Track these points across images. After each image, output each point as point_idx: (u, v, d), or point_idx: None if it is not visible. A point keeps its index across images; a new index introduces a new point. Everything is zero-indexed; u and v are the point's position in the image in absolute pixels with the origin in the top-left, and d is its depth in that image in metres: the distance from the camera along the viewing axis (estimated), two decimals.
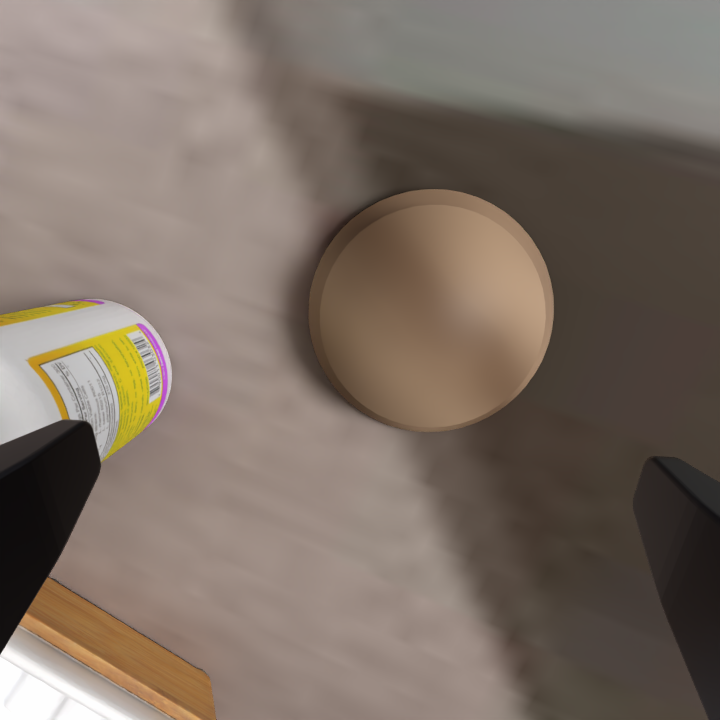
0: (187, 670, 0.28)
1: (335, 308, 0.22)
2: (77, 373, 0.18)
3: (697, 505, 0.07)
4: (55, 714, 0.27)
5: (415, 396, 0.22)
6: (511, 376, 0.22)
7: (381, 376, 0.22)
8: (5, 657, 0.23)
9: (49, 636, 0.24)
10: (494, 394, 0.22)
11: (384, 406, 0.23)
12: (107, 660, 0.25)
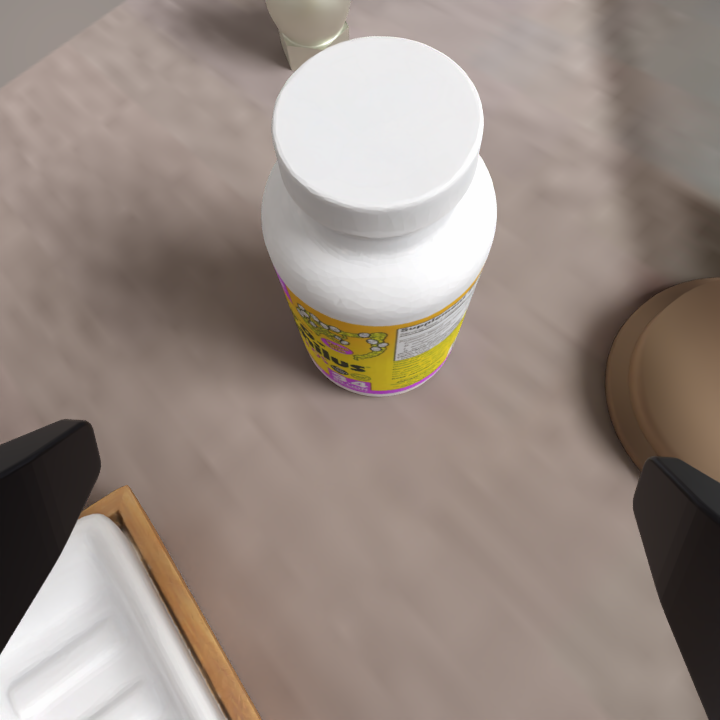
0: None
1: (666, 338, 0.21)
2: None
3: (697, 505, 0.07)
4: None
5: None
6: None
7: (699, 421, 0.20)
8: (119, 566, 0.17)
9: (166, 578, 0.18)
10: None
11: (696, 454, 0.20)
12: (218, 646, 0.17)
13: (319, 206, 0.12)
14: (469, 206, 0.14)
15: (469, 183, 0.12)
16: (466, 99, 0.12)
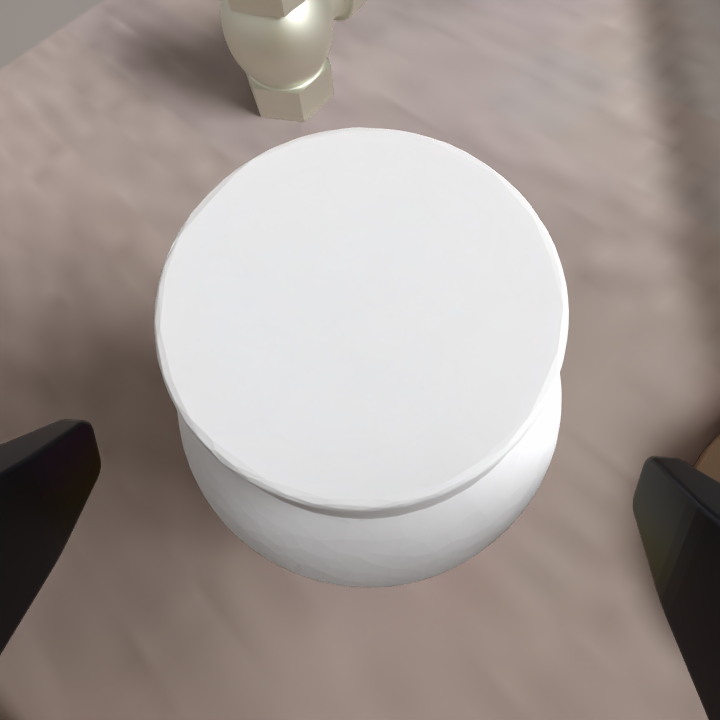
0: None
1: None
2: None
3: (697, 505, 0.07)
4: None
5: None
6: None
7: None
8: None
9: None
10: None
11: None
12: None
13: None
14: None
15: None
16: (533, 260, 0.06)
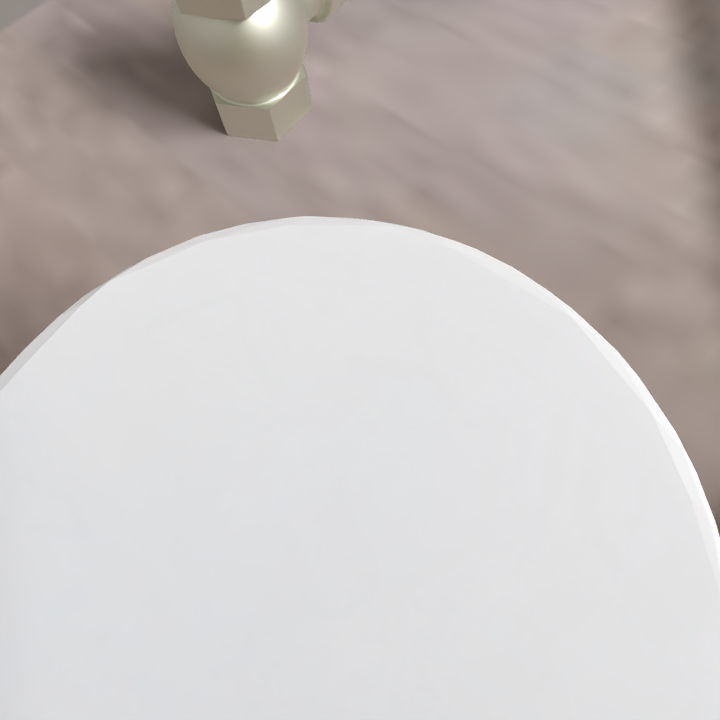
0: None
1: None
2: None
3: None
4: None
5: None
6: None
7: None
8: None
9: None
10: None
11: None
12: None
13: None
14: None
15: None
16: (660, 512, 0.03)
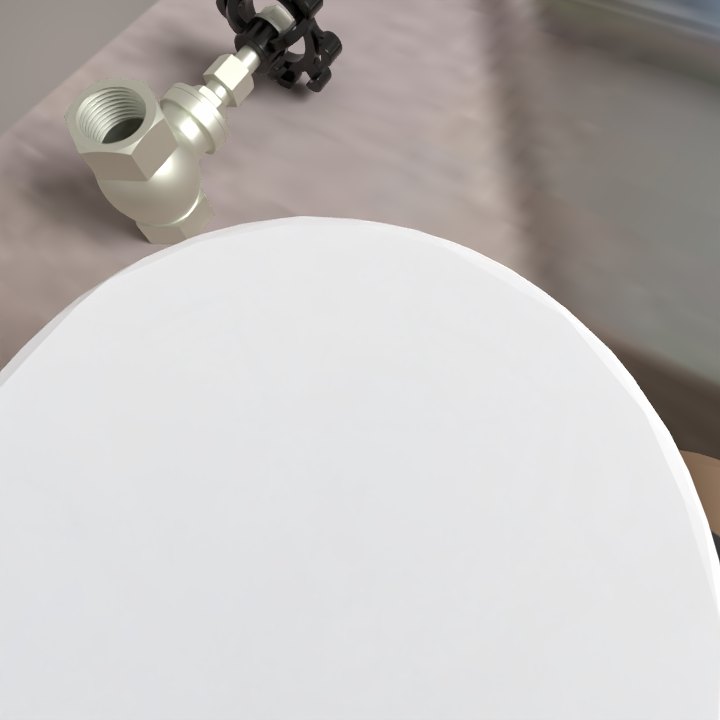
0: None
1: None
2: None
3: None
4: None
5: None
6: None
7: None
8: None
9: None
10: None
11: None
12: None
13: None
14: None
15: None
16: (652, 510, 0.03)
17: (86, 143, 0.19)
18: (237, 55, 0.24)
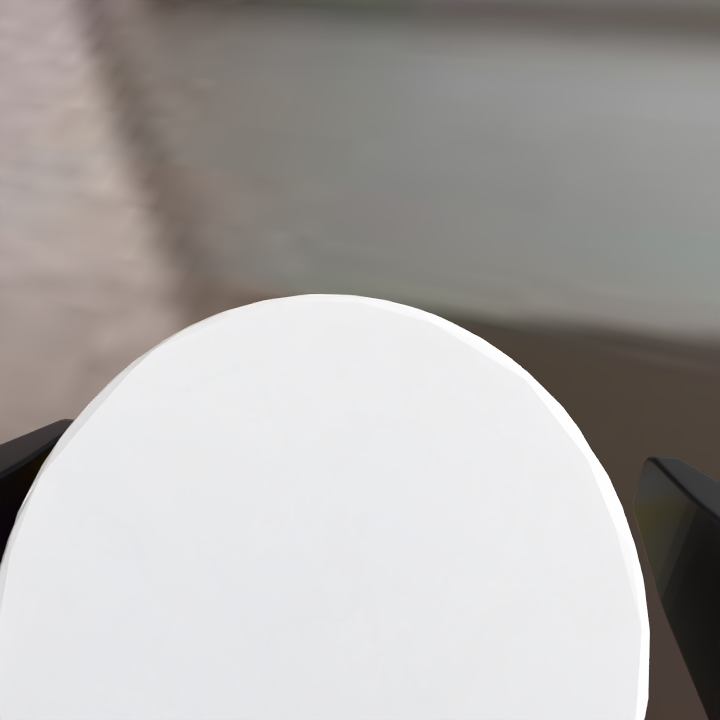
0: None
1: None
2: None
3: (697, 505, 0.07)
4: None
5: None
6: None
7: None
8: None
9: None
10: None
11: None
12: None
13: None
14: None
15: None
16: (591, 537, 0.04)
17: None
18: None
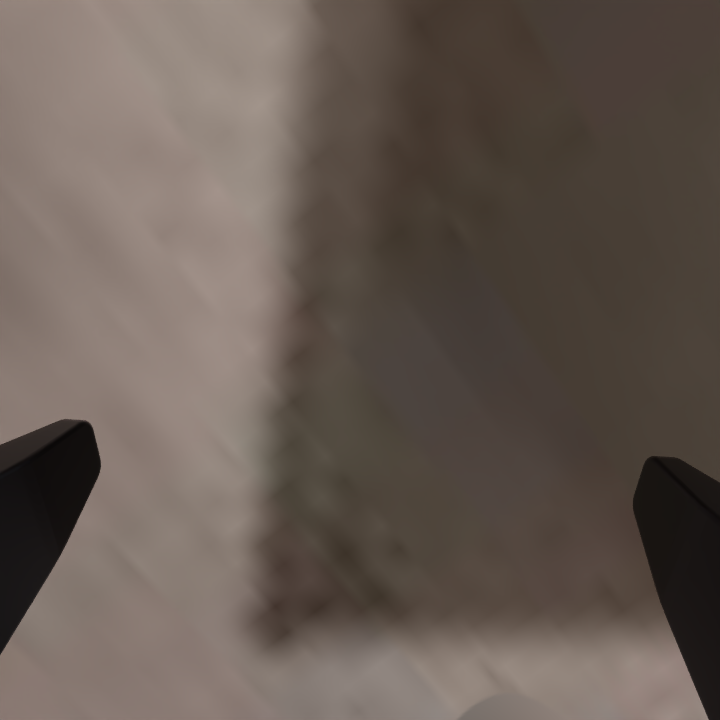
0: None
1: None
2: None
3: (697, 505, 0.07)
4: None
5: None
6: None
7: None
8: None
9: None
10: None
11: None
12: None
13: None
14: None
15: None
16: None
17: None
18: None
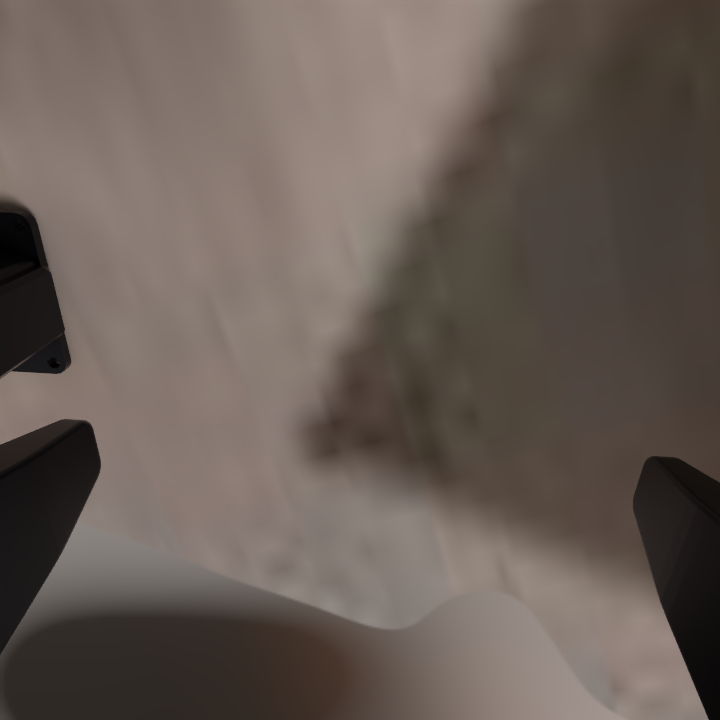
0: None
1: None
2: None
3: (697, 505, 0.07)
4: None
5: None
6: None
7: None
8: None
9: None
10: None
11: None
12: None
13: None
14: None
15: None
16: None
17: None
18: None
